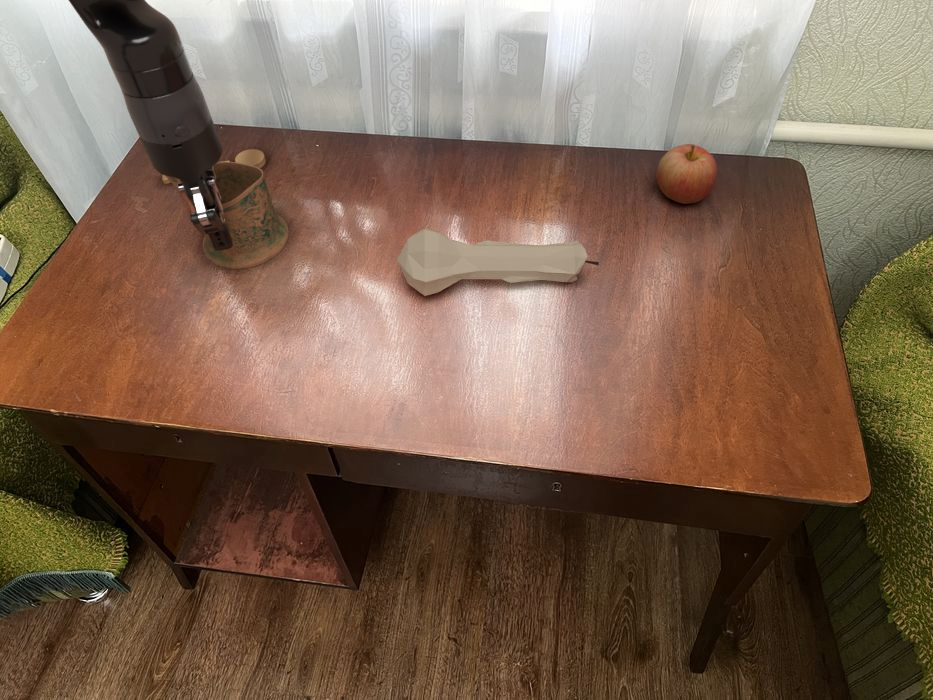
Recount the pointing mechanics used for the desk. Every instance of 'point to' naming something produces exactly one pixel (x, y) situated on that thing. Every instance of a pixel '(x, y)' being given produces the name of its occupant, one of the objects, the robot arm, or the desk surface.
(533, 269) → the faceted club
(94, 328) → the desk surface
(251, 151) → the spoon
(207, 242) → the mug
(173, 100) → the robot arm
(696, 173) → the apple
